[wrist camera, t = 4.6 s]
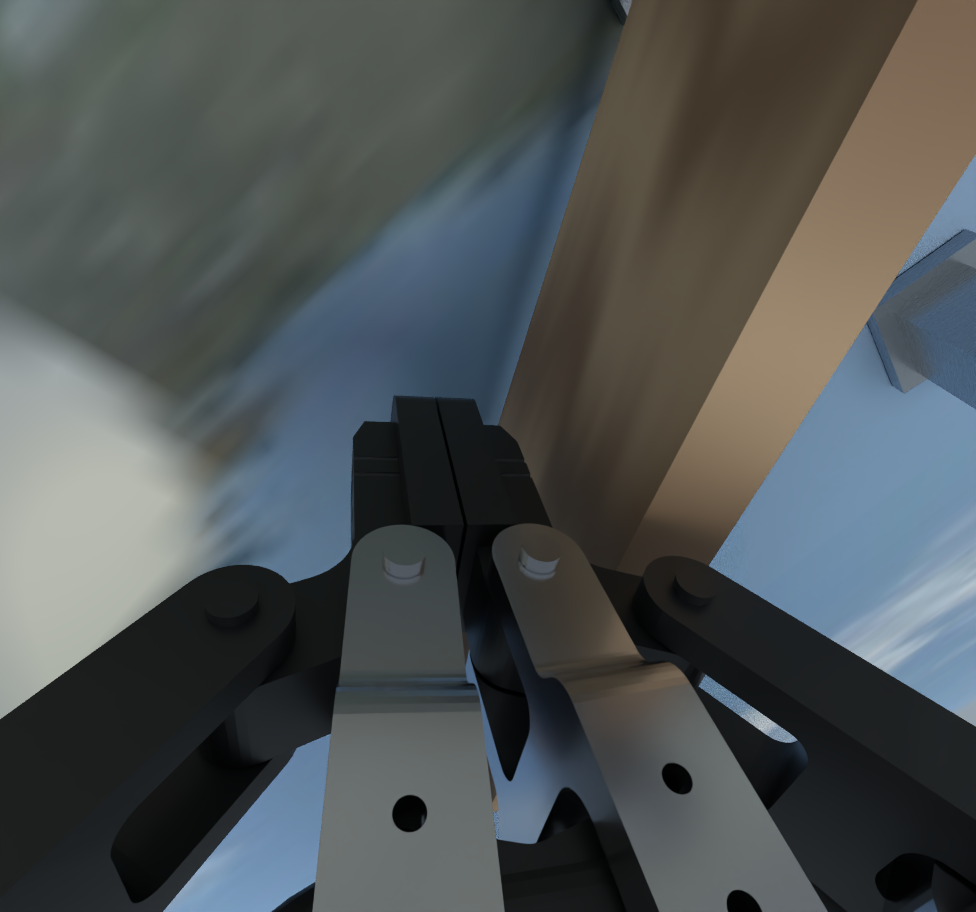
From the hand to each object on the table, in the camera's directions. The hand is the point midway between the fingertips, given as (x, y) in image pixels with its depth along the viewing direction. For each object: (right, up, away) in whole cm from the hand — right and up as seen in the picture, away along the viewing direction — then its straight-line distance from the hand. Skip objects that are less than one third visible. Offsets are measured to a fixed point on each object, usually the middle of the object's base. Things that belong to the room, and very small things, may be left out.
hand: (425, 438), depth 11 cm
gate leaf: (+2, +4, +6) cm, 7 cm away
